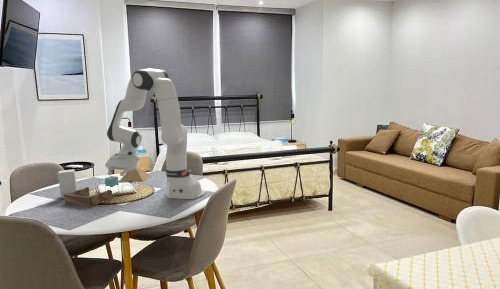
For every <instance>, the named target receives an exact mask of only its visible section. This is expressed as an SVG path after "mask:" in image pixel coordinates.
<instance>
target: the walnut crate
mask: <svg viewBox="0 0 500 289" xmlns="http://www.w3.org/2000/svg"><path fill="white" fill-rule="evenodd" d="M89 195H90V187H89V186H86V187H83V188H80V189H78V190H76V191H73V192H70V193H67V194H64V198H63V200H64V204H67V205H71V206H72V205H73V206H79V207H85V208H91V207H95V206H97V205H99V203H100V204H102V203H104V202H103V201H105V202H107V201H106V200H108V201H110V200H112V199H113V194H112V191H111V190H107V191H106V190H105V191H102V192H100V193H96V194H93V195H90V196H89ZM87 196H88V197H87ZM109 199H110V200H109ZM101 202H102V203H101Z"/></svg>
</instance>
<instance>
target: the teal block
mask: <svg viewBox="0 0 500 289" xmlns="http://www.w3.org/2000/svg"><path fill="white" fill-rule="evenodd" d="M104 184H105V186H110V187H113V186H115V185H119V177H118V176H113V175H109V176H108V177H105V178H104ZM105 186H104V187H105ZM119 186H120V185H119Z"/></svg>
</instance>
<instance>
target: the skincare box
mask: <svg viewBox="0 0 500 289" xmlns="http://www.w3.org/2000/svg"><path fill="white" fill-rule="evenodd" d="M57 178H58V184H59V191H60V197H61V199H64V194H67V193H70V192H73V191H76V190H79V189H78V183H77V177H76V170H75V169H73V168H72V169H67V170H66V169H65V170H59V171H58V172H57Z"/></svg>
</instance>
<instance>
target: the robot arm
mask: <svg viewBox="0 0 500 289" xmlns="http://www.w3.org/2000/svg"><path fill="white" fill-rule="evenodd" d="M125 91H126V92H125V96H124V98H123V99H120V101H119V102H118V104H116V108H115V110H114V113H113V116H112V119H111V122H110V125H109V127H108V129H107V131H106V136H107V138H108V140H109V141H110V142H115V143H120V144H123V145H122V146H121V147H120V149H119V151H118V153H117V154H113V155H111V156H110V157H109V158H108V160H107V161H106V163H105V168H107V169H108V170H107V176H112V174H113V173H112V171H113V170H118V171H120V170H121V172H120V173H119V176H120V177H123V176H124V175H125V174H126V173H127V172H128V171H129V170H131V171H133V170H134V169H135V167H136V166H137V165H138V163H139V161H140V158H139V156H138V155H137V154H136V152H137V150H139V147H140V145H141V142H142V139H143V135H142V134H141V133H140V132H139V131H138V130H135V129H133V128H129V127H125V126H122V125H121V122H122V118H123V116H124V113H126V112H135V111H139V110H141V109H142V108H144V106H145V104H146V100H147V94H148V92H149V91H153V92H154V94H155V97H156V103H157V107H158V111H159V116H160V117H159V118H160V119H159V120H160V131H161V132H160V134H161V136H160V137H161V141H162V143H163V144H165V145H166V153H165V162H166V163H165V164H166V170H165V176H166V189H165V197H166V198H167V199H178V200H179V199H180V200H195V199H198V198H201V197H203V196H204V195H206V190H203V189H202V186H201V183H200V181H198V180H197V179H196V178H194V176H192V175H191V172H192V169H189V168H188V161H187V160H188V159H187V147H188V129H187V128H186V126H185V125H184V124H182V122H181V121H182V120H181V118H182V117H181V107H180V102H179V99H178V93H177V90H176V87H175V85H174V83H173V81H172V80H171V79H170V78H169V74H168V73H167V71H166V70H164V69H160V68H144V69H143V68H141V69H137V70H135V71H134V72H133V73H132V75H131V77H130V78H129V81H128V84H127V88H126V90H125Z"/></svg>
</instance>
